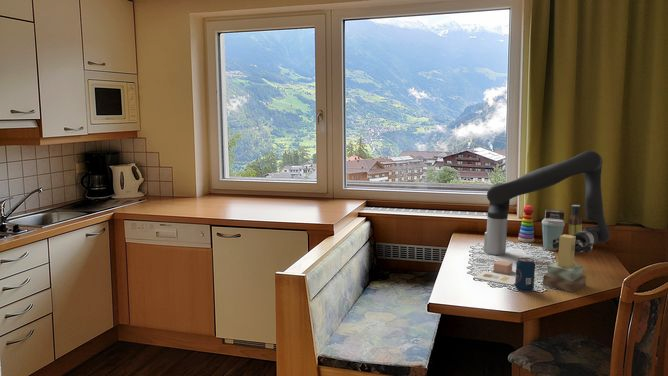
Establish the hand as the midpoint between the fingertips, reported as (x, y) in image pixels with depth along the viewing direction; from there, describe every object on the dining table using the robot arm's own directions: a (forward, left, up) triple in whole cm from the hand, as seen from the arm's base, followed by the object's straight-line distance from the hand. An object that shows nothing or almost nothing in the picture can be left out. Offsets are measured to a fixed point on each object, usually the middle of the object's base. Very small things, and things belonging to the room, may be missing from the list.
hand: (565, 248), depth 225 cm
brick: (-26, +1, -16) cm, 30 cm away
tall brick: (0, +2, -8) cm, 8 cm away
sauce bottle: (-23, +70, -16) cm, 75 cm away
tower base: (0, +2, -16) cm, 16 cm away
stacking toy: (-43, +58, -16) cm, 74 cm away
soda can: (-9, -14, -16) cm, 23 cm away
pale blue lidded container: (-33, +67, -16) cm, 76 cm away
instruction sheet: (-23, -9, -16) cm, 29 cm away
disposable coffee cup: (-27, +52, -16) cm, 61 cm away
